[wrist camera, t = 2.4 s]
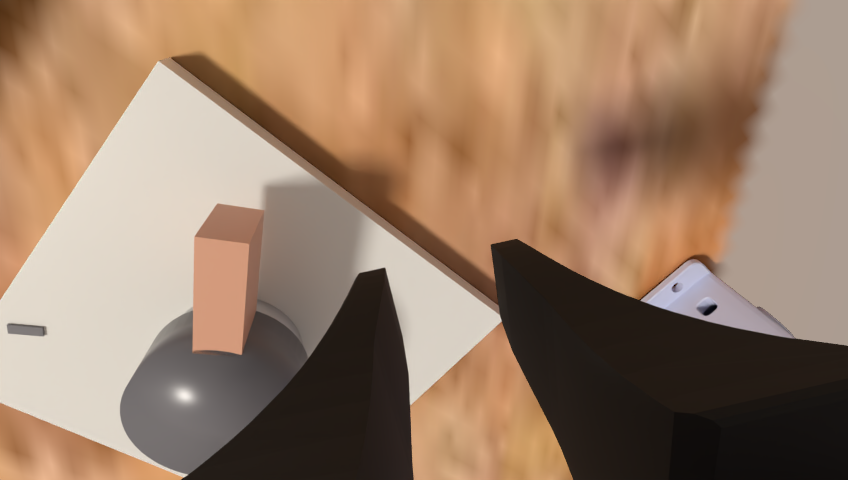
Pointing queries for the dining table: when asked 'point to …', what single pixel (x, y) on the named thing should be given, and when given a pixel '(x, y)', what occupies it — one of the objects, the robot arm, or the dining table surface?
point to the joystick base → (174, 259)
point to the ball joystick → (211, 353)
